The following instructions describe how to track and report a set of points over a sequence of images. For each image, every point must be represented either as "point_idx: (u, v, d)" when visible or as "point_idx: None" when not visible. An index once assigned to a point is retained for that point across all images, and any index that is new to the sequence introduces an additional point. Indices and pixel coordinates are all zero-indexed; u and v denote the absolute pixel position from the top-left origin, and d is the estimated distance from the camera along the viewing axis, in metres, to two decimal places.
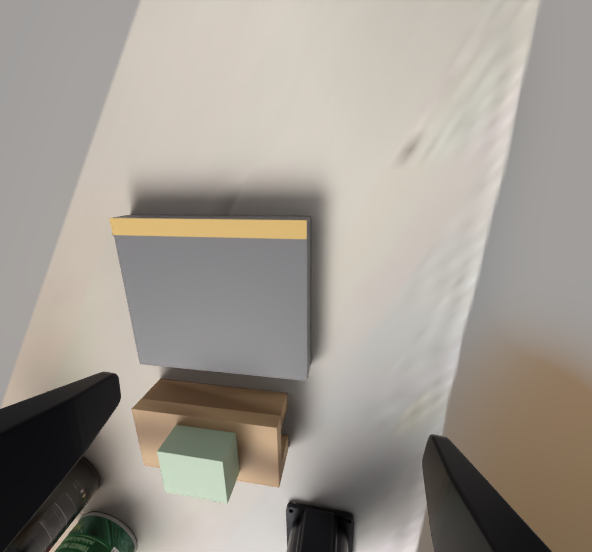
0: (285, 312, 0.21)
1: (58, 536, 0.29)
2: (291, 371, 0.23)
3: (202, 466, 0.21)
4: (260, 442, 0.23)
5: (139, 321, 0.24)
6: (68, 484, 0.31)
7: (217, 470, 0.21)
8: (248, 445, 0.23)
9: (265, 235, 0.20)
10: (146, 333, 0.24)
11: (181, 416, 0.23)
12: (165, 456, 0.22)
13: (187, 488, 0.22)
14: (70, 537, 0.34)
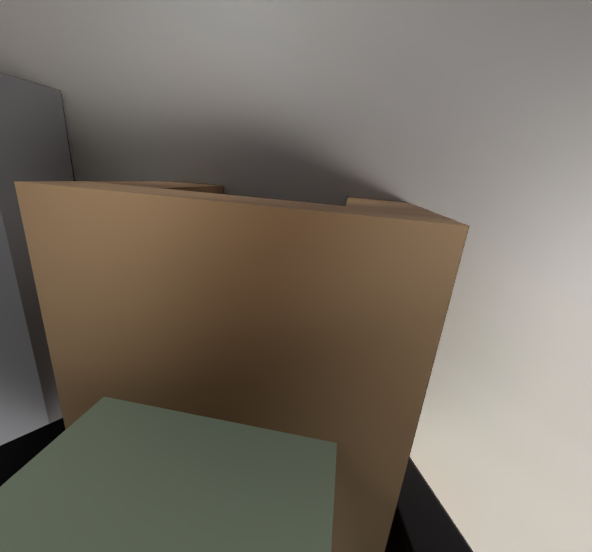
0: None
1: None
2: None
3: None
4: (127, 284, 0.04)
5: None
6: None
7: None
8: (160, 348, 0.05)
9: None
10: None
11: None
12: None
13: None
14: None
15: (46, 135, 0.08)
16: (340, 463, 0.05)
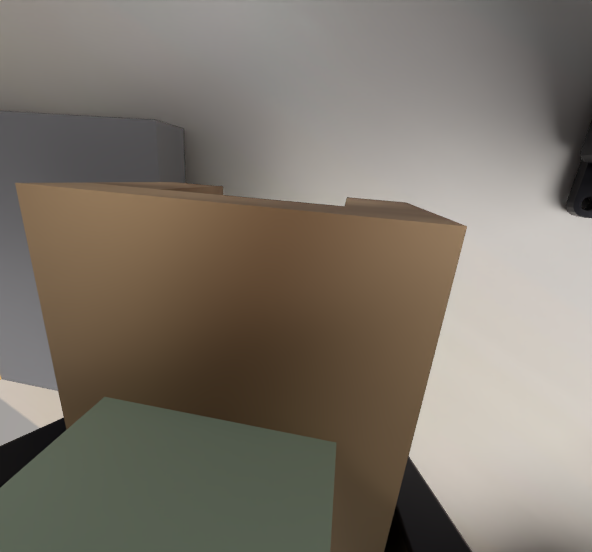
0: (37, 152, 0.13)
1: None
2: (141, 151, 0.12)
3: None
4: (127, 285, 0.04)
5: None
6: None
7: None
8: (160, 349, 0.05)
9: None
10: None
11: None
12: None
13: None
14: None
15: (177, 154, 0.13)
16: (340, 463, 0.05)
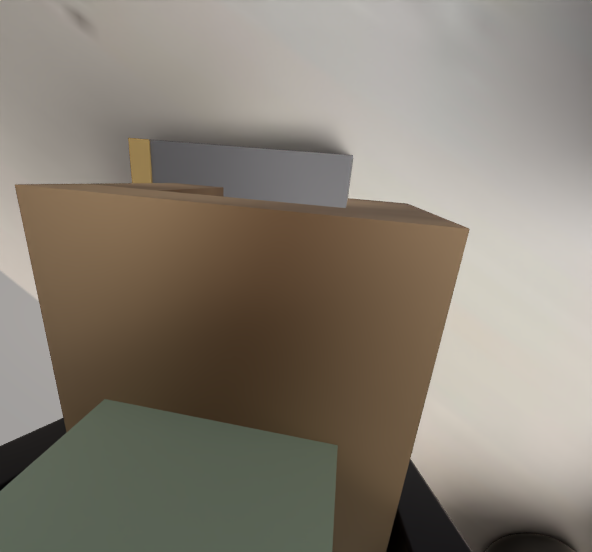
0: (242, 177, 0.16)
1: None
2: (335, 179, 0.15)
3: None
4: (127, 287, 0.04)
5: None
6: None
7: None
8: (161, 351, 0.05)
9: None
10: None
11: None
12: None
13: None
14: None
15: None
16: (341, 465, 0.05)
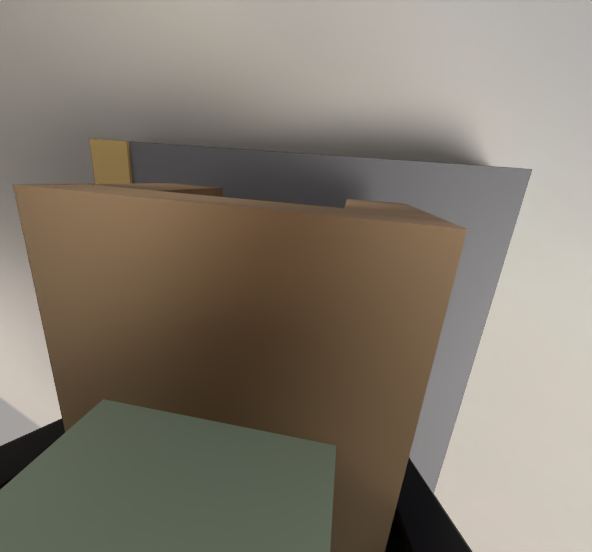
0: None
1: None
2: (487, 215, 0.08)
3: None
4: (126, 287, 0.04)
5: None
6: None
7: None
8: (159, 351, 0.05)
9: None
10: None
11: None
12: None
13: None
14: None
15: None
16: (339, 465, 0.05)
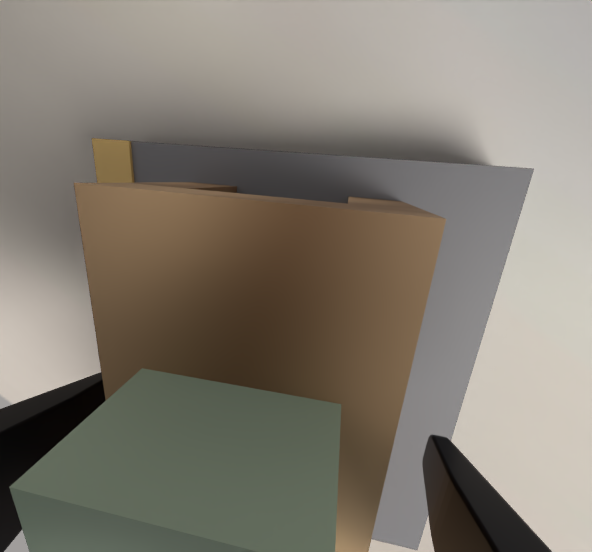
0: None
1: None
2: (489, 214, 0.08)
3: None
4: (166, 269, 0.05)
5: None
6: None
7: (79, 530, 0.04)
8: (192, 323, 0.06)
9: None
10: None
11: None
12: None
13: None
14: None
15: None
16: (343, 420, 0.06)
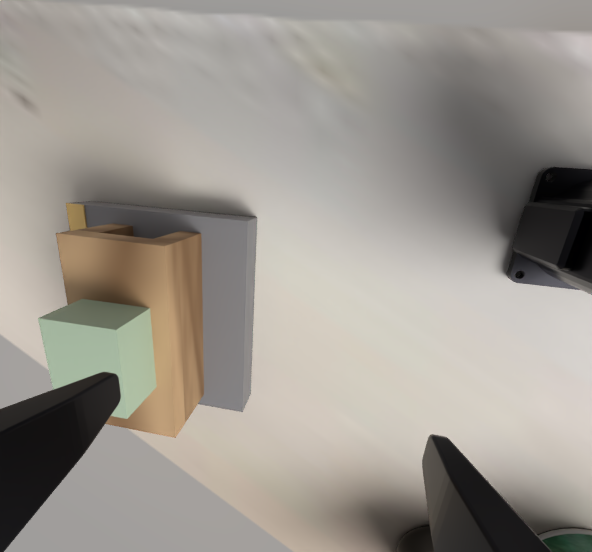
0: None
1: None
2: (236, 239, 0.18)
3: (59, 351, 0.14)
4: (87, 261, 0.16)
5: None
6: None
7: (56, 329, 0.14)
8: (98, 280, 0.16)
9: None
10: (204, 392, 0.22)
11: None
12: None
13: None
14: None
15: (253, 236, 0.19)
16: (151, 314, 0.16)
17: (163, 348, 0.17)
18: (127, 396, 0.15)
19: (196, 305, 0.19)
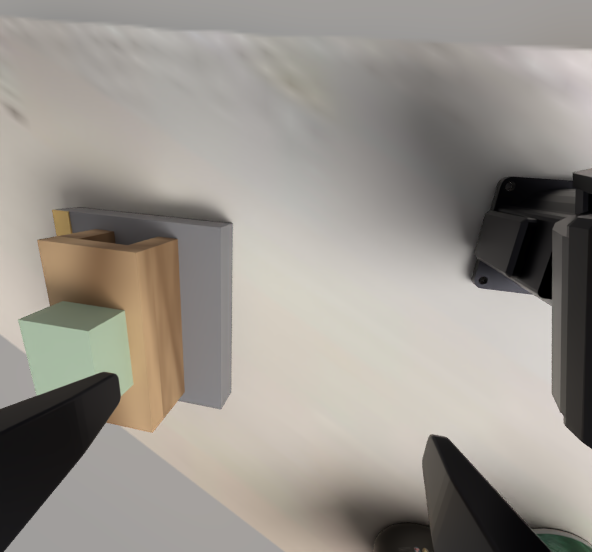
0: None
1: None
2: (210, 244, 0.19)
3: (38, 350, 0.15)
4: (66, 266, 0.17)
5: None
6: None
7: (34, 330, 0.15)
8: (76, 284, 0.17)
9: None
10: (185, 390, 0.23)
11: None
12: (41, 392, 0.16)
13: None
14: None
15: (229, 241, 0.20)
16: (126, 316, 0.17)
17: (138, 348, 0.18)
18: None
19: (173, 307, 0.20)
